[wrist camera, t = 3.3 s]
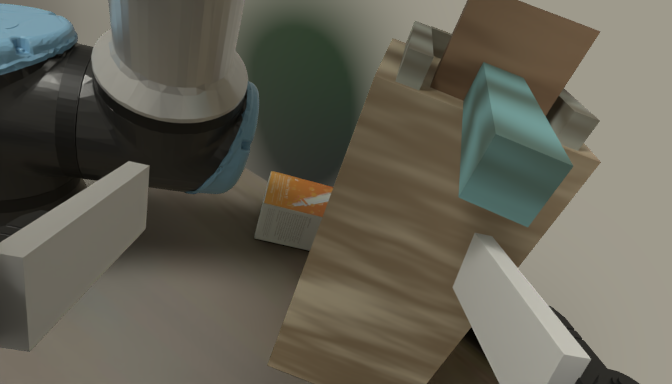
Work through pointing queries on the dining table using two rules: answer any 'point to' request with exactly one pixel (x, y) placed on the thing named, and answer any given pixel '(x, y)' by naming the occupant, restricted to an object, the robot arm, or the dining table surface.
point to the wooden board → (405, 231)
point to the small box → (292, 211)
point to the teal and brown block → (510, 101)
